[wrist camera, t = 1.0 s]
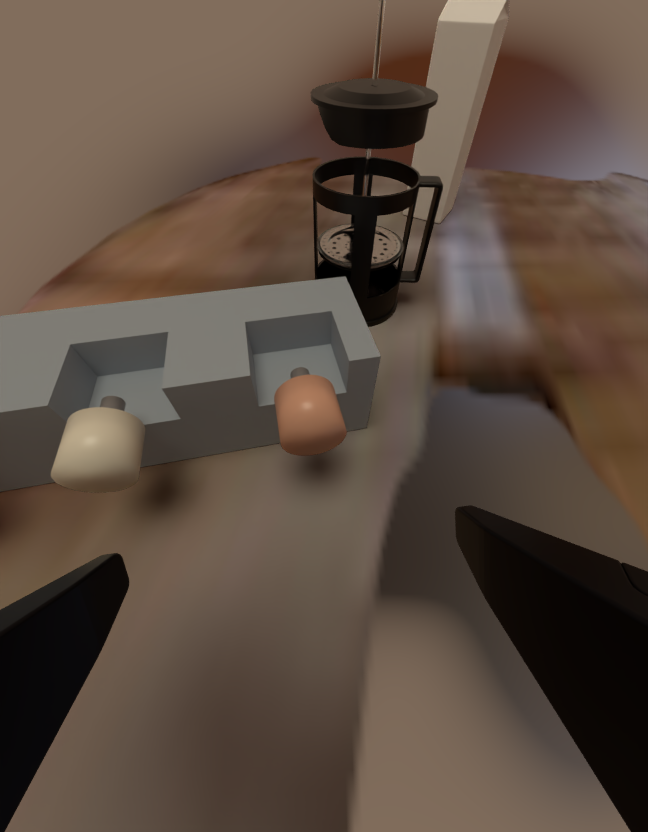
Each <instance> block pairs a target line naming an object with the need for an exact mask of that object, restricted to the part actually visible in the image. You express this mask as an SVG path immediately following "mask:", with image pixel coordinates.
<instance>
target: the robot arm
mask: <svg viewBox="0 0 648 832" xmlns="http://www.w3.org/2000/svg"><path fill="white" fill-rule="evenodd" d="M455 527H456V539H457V542H458V545H459V547H460V549H461V551H462V553H463V555H464V557H465V559H466V561H467V563H468V565H469V567H470V569H471V571H472V573H473V575H474V577H475V579H476V582H477V583H478V586H479V587H480V589H481V591H482V593H483V595H484V597H485V599H486V601H487V602H488V604H489V606H490V607H491V609H492V610H493V612H494V614H495V615H496V617H497V618H498V620H499V622H500V623H501V625H502V626H503V628H504V630H505V631H506V633H507V634H508V636H509V638H510V639H511V641H512V642H513V644H514V646H515V647H516V649H517V650H518V652H519V654H520V655H521V657H522V658H523V660H524V662H525V663H526V665H527V666H528V668H529V670H530V671H531V673H532V674H533V676H534V678H535V679H536V681H537V682H538V684H539V686H540V687H541V689H542V690H543V692H544V694H545V695H546V697H547V698H548V700H549V702H550V703H551V705H552V706H553V708H554V710H555V711H556V713H557V714H558V716H559V717H560V719H561V721H562V722H563V724H564V726H565V727H566V729H567V730H568V732H569V734H570V735H571V737H572V738H573V740H574V742H575V743H576V745H577V746H578V748H579V749H580V751H581V753H582V754H583V756H584V758H585V759H586V761H587V762H588V764H589V766H590V767H591V769H592V770H593V772H594V774H595V775H596V777H597V778H598V780H599V781H600V783H601V785H602V786H603V788H604V789H605V791H606V793H607V794H608V796H609V798H610V799H611V801H612V802H613V804H614V806H615V807H616V809H617V810H618V812H619V814H620V815H621V817H622V818H623V820H624V821H625V823H626V825H627V826H628V828H629V829H630V831H631V832H648V572H647V571H645V570H642V569H639V568H637V567H634V566H631V565H629V564H626V563H620V562H619V561H618V560H615V559H613V558H610V557H607V556H605V555H602V554H599V553H597V552H594V551H591V550H589V549H586V548H583V547H581V546H578V545H575V544H572V543H570V542H567V541H565V540H562V539H559V538H557V537H554V536H552V535H549V534H546V533H544V532H541V531H538V530H536V529H533V528H530V527H527V526H525V525H522V524H520V523H517V522H514V521H512V520H509V519H506V518H503V517H501V516H498V515H496V514H493V513H490V512H488V511H485V510H483V509H480V508H477V507H474V506H462V507H457V508H456V510H455ZM128 587H129V577H128V574H127V571H126V568H125V564H124V561H123V558H122V556H121V555H120V554H118V553H113V554H106V555H102V556H99V557H98V558H96V559H94V560H92V561H90V562H88V563H86V564H85V565H83V566H81V567H79V568H77V569H75V570H73V571H72V572H70V573H68V574H66V575H64V576H62V577H60V578H59V579H57V580H55V581H53V582H51V583H49V584H47V585H46V586H44V587H42V588H40V589H38V590H36V591H35V592H33V593H31V594H29V595H27V596H25V597H23V598H22V599H20V600H18V601H16V602H14V603H12V604H10V605H9V606H7V607H5V608H3V609H1V610H0V832H5V830H6V828H7V826H8V824H9V822H10V820H11V819H12V817H13V815H14V813H15V811H16V809H17V807H18V806H19V804H20V802H21V800H22V798H23V796H24V794H25V792H26V791H27V789H28V787H29V785H30V783H31V781H32V779H33V778H34V776H35V774H36V772H37V770H38V768H39V766H40V764H41V763H42V761H43V759H44V757H45V755H46V753H47V751H48V750H49V748H50V746H51V744H52V742H53V740H54V738H55V736H56V735H57V733H58V731H59V729H60V727H61V725H62V723H63V722H64V720H65V718H66V716H67V714H68V712H69V710H70V708H71V707H72V705H73V703H74V701H75V699H76V697H77V695H78V694H79V692H80V690H81V688H82V686H83V684H84V682H85V680H86V679H87V677H88V675H89V673H90V671H91V669H92V667H93V666H94V664H95V662H96V660H97V658H98V656H99V654H100V652H101V650H102V648H103V646H104V643H105V641H106V639H107V637H108V635H109V632H110V630H111V628H112V625H113V623H114V621H115V618H116V616H117V614H118V611H119V609H120V607H121V604H122V602H123V600H124V598H125V595H126V593H127V591H128Z"/></svg>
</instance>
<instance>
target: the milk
mask: <svg viewBox="0 0 648 832" xmlns="http://www.w3.org/2000/svg"><path fill="white" fill-rule="evenodd" d="M508 17H509V0H448V1H447V3H446V5H445V7H444V9H443V11H442V13H441V15H440V17H439V19H438V24H437V30H436V34H435V41H434V45H433V51H432V56H431V62H430V67H429V73H428V78H427V84H426V88H429V89H431V90H433V91H435V92H436V93H437V94H438V101H437V103H436V105H435V106H433V107H431V108H429V113H428V118H427V123H426V128H425V133H424V136H423V138H422V139H421V140H420V141H418V142H416V144H415V149H414V155H413V160H412V166H411V167H412V168H414V169H415V170H416V171H418V172H419V174H420V176H438V177H440V179H441V181H442V183H443V191H442V194H441V198H440V202H439V206H438V210H437V214H436V217H435V221H434V223H438V224H440V223H441V222H442V220H443V219H444V218H445V217H446V216H447V215H448V213H449V212H450V211H451V210H452V208H453V205H454V201H455V198H456V195H457V191H458V188H459V185H460V181H461V178H462V174H463V171H464V168H465V164H466V161H467V157H468V154H469V151H470V147H471V144H472V140H473V137H474V134H475V130H476V127H477V123H478V120H479V116H480V113H481V110H482V106H483V103H484V100H485V96H486V93H487V89H488V86H489V83H490V79H491V76H492V72H493V69H494V66H495V62H496V59H497V55H498V52H499V48H500V45H501V42H502V38H503V35H504V32H505V28H506V25H507V21H508ZM408 189H410V187H409V186H408V187H407V190H408ZM434 189H435V188H428V187H419V192H418V196H417V201H416V206H415V211H414V215H413V217H414V218H418V219H422V220H426V221H427V217H428V213H429V209H430V205H431V201H432V197H433V193H434ZM408 212H409V208H407V209H405V210H403V215H406V216H408Z"/></svg>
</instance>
